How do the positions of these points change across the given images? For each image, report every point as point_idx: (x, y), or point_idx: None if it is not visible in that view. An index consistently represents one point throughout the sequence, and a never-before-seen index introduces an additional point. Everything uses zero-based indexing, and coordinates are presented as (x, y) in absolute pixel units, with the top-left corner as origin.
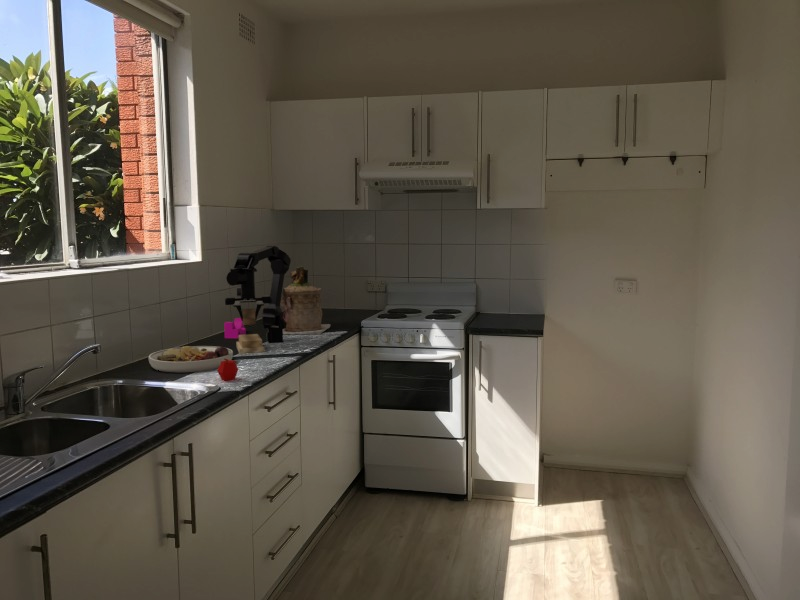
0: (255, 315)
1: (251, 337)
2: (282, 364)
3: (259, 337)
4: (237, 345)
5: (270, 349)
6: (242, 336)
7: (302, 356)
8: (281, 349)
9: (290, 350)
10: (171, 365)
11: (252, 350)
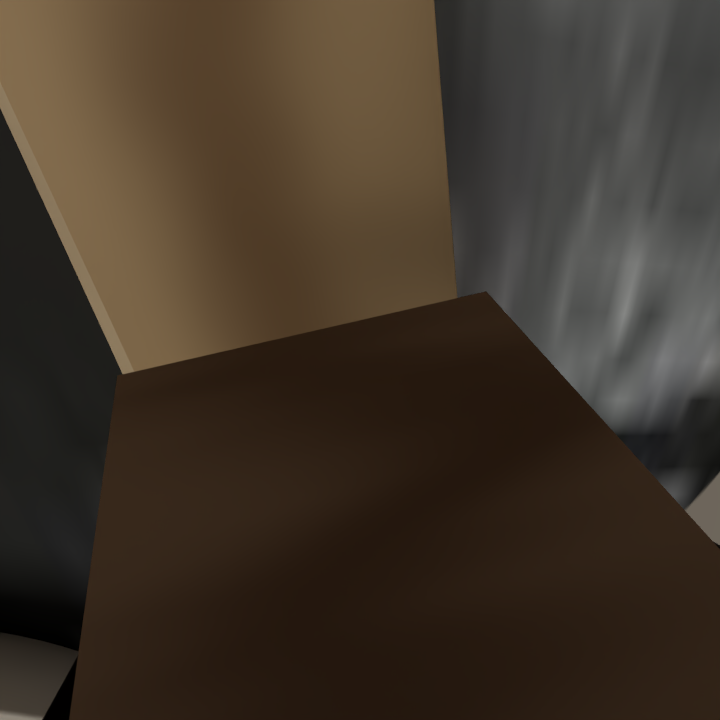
0: None
1: (315, 289)
2: None
3: (446, 298)
4: (62, 234)
5: (514, 194)
6: (111, 164)
7: (697, 496)
8: (630, 208)
9: (696, 272)
10: None
11: None
